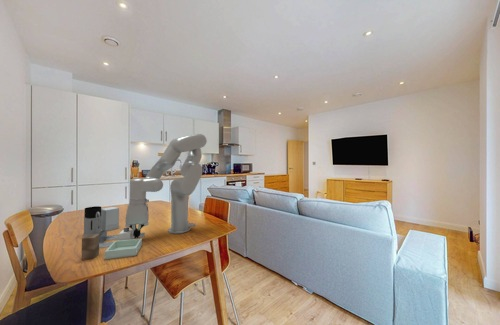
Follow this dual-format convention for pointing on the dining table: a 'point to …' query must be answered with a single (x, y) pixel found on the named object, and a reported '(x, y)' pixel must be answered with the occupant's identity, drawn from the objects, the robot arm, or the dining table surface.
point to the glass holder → (92, 220)
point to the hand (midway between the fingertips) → (136, 237)
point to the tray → (123, 248)
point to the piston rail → (109, 238)
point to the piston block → (126, 234)
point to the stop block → (90, 246)
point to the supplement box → (110, 218)
